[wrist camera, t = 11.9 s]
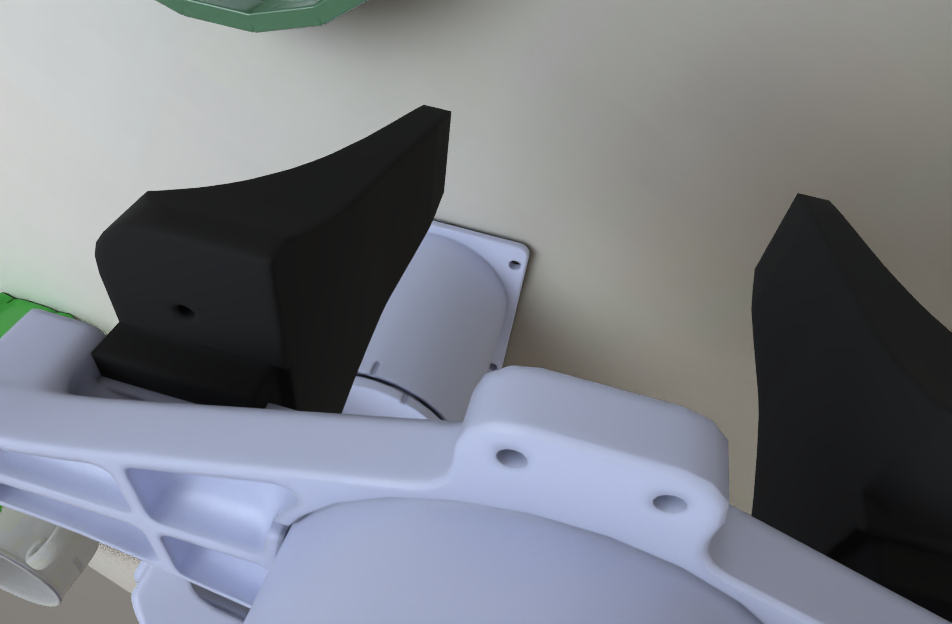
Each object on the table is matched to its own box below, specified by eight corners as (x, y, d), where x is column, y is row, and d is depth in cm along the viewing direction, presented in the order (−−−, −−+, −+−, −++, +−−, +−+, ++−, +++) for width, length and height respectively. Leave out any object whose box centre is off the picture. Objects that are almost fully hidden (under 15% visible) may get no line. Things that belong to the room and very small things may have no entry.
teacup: (74, 530, 69) (18, 605, 64) (-14, 469, 63) (-83, 546, 58) (158, 527, 63) (104, 610, 57) (69, 458, 57) (-1, 544, 51)
